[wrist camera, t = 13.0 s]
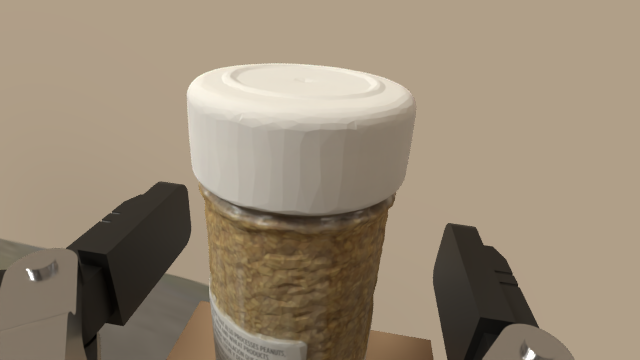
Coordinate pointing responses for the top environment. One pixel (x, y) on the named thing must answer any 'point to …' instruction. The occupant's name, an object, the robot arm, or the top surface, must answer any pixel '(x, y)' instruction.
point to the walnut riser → (382, 353)
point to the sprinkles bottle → (296, 203)
